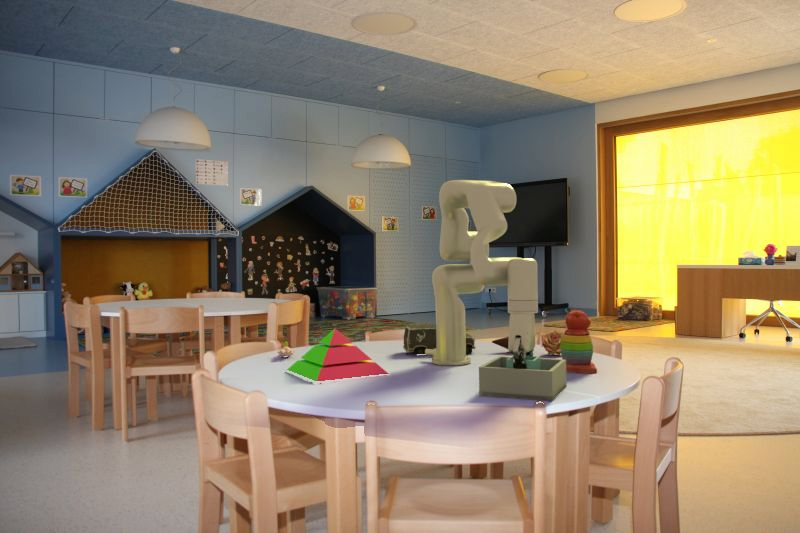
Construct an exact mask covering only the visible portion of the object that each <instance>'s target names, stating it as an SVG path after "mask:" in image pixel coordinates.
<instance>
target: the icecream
mask: <svg viewBox="0 0 800 533" xmlns="http://www.w3.org/2000/svg"><path fill="white" fill-rule="evenodd" d="M508 341H509V335H508V336H505V337H502V338H498V339H494V340H492V341H491V343H492V344H495V345H496V346H497V345H498V346H500V347H501V348H504V349H507V350H508ZM534 349H535V348H534ZM534 349H533V351H534ZM520 351H521V350H520ZM510 353H513V352H510Z"/></svg>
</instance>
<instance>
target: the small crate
mask: <svg viewBox="0 0 800 533" xmlns="http://www.w3.org/2000/svg"><path fill="white" fill-rule="evenodd" d="M509 357H510V358H508V359H506V366H507V368H513V355H511V356H509ZM540 358H541V356H539V355H538V356H537V355H536V356H535V355H533V356H526V359H525V364H526V368H527V369H532V370H540Z"/></svg>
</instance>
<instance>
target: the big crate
mask: <svg viewBox="0 0 800 533" xmlns="http://www.w3.org/2000/svg"><path fill="white" fill-rule="evenodd" d="M510 357H511V356H501V355H499V356H497V357H495V358H493V359H491V360H489V361H488V362H486V363H483V364H482V365H480V366H479V367H478V390H479V391H478V392H479V394H478V395H479V396H484V397H499V398H509V399H519V400H520V399H521V400H534V401H535V400H536V401H546V400H551V401H550V402H553V401H555V399H556V398H557V397H558V396H559V395H560V394H561V393H562V392H563V391H562V390H565V388H566V387H567V371H566V360H564V359H562V358H561V359H558V358H544V357H543V358H541V357H540V370H532V369H515V368H507V366H506V359H508V358H510ZM561 391H562V392H561ZM560 392H561V393H560ZM559 393H560V394H559ZM558 394H559V395H558ZM557 395H558V396H557ZM556 396H557V397H556ZM555 397H556V398H555Z"/></svg>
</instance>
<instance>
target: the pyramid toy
mask: <svg viewBox="0 0 800 533" xmlns="http://www.w3.org/2000/svg"><path fill="white" fill-rule="evenodd" d="M318 343H319V344H315V345H314V346H313V347H311V348H310V349H309V350H308V351H307V352H305V353H304V355H302V356H301V357H300V359H299V360H297V361H295V362H294V363H293V364H292V365H290V366H289V367H288V368H287V369H286V370H289V371H292V372H294V373H297V374H299V375H302V376H304V377H307V378H309V379H312V380H314V381H325V380H335V379H343V378H352V377H361V376H369V375H379V374H389V373H388V372H387V371H386V370H385V369H384V368H382V367H381V366H380V365H379V364H378V363H377V362H375V361H372V360H373V359H372V358H371V356H368V355H367V354H366V353H365V352H364V351H362V350H361V348H360V347H358V346H357V345H354V344H353V342H352V341H350V339H349V338H347V337H346V336H345V335H343V333H341V332H340V331H339V330H338V329H337V328H334V329H333V330H331V331H330V332H329V333H328V334H326V335H325V336H324V337H323V338H322V339H321V340H319V341H318Z"/></svg>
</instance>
